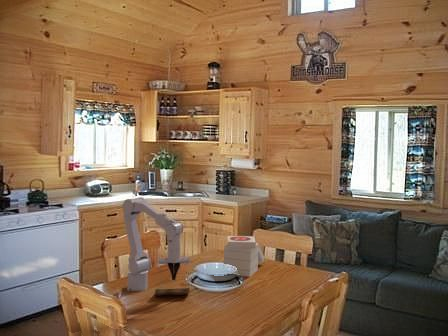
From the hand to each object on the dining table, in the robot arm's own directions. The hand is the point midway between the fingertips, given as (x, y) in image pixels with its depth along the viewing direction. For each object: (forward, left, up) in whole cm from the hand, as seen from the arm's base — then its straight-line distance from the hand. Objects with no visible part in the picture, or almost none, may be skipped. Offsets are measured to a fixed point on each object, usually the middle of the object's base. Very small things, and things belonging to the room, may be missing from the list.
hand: (173, 279), depth 213 cm
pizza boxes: (+42, +47, -10) cm, 63 cm away
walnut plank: (-1, +1, -7) cm, 7 cm away
